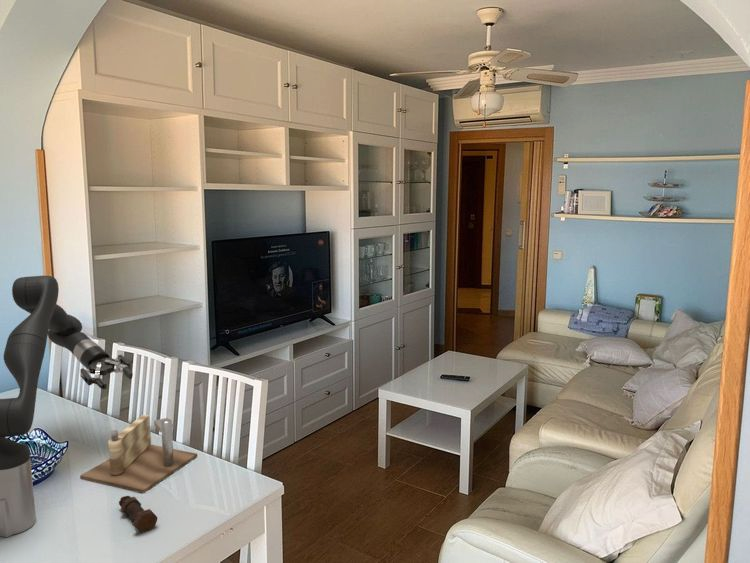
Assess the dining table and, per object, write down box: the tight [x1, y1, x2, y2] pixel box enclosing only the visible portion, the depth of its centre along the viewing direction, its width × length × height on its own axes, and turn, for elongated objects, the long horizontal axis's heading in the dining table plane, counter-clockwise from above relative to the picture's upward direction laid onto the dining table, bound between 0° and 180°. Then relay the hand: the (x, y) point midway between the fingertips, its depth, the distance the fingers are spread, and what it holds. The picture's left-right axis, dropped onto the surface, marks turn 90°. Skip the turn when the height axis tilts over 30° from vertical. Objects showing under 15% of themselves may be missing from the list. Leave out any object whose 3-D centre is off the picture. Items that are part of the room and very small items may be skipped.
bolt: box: [118, 495, 158, 534], centre depth 150 cm, size 6×5×15 cm
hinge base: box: [79, 429, 198, 494], centre depth 177 cm, size 24×23×14 cm
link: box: [107, 414, 152, 475], centre depth 180 cm, size 21×4×10 cm, turn 175°
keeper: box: [153, 417, 175, 467], centre depth 178 cm, size 4×8×14 cm, turn 35°
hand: (118, 381), depth 183 cm, fingers open, 8 cm apart
